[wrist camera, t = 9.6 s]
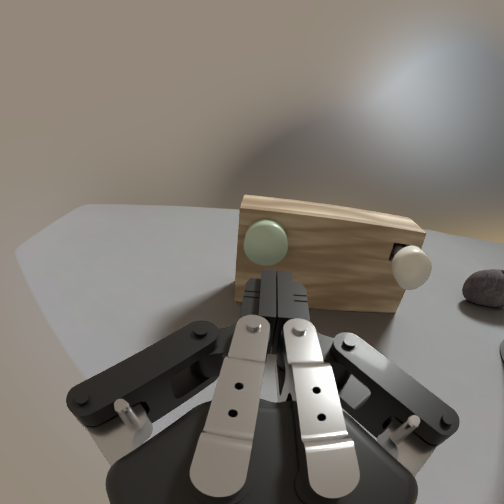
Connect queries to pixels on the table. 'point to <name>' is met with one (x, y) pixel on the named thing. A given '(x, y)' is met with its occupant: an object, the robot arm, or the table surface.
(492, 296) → the perforated stone tool
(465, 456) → the table surface
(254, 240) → the button sage
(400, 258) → the button white
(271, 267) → the light wood rectangular block
